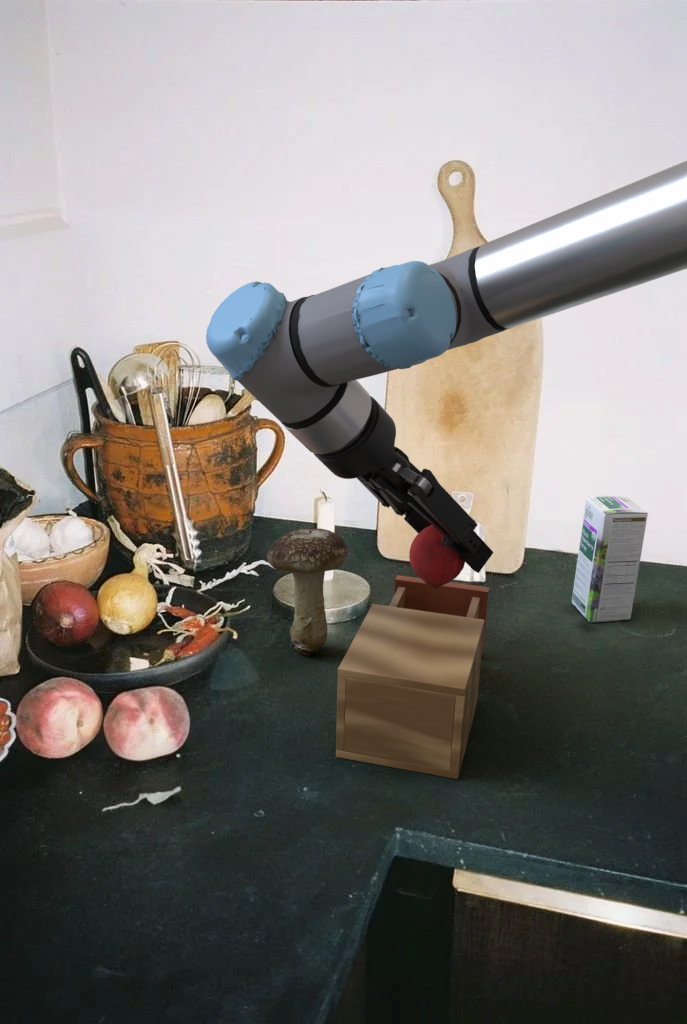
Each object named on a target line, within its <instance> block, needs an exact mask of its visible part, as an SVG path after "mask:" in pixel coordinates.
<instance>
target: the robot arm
mask: <svg viewBox="0 0 687 1024" xmlns="http://www.w3.org/2000/svg"><path fill="white" fill-rule="evenodd" d="M684 270H687V160H685V161H682V162H680V163H677V164H675V165H672V166H670V167H668V168H666V169H663V170H660V171H657V172H656V173H653V174H650V175H648V176H646V177H643V178H640V179H639V180H636V181H634V182H631V183H629V184H626V185H624V186H621V187H618V188H617V189H614V190H611V191H609V192H606V193H604V194H601V195H600V196H597V197H595V198H591V199H590V200H587V201H585V202H583V203H580V204H578V205H576V206H573V207H571V208H568V209H566V210H563V211H561V212H558V213H556V214H554V215H551V216H549V217H546V218H544V219H542V220H541V219H540V220H539V221H537V222H534V223H532V224H529V225H527V226H524V227H522V228H519V229H518V230H514V231H512V232H510V233H507V234H504V235H503V236H500V237H497V238H495V239H493V240H489V241H488V242H485V243H482V244H481V245H479V246H476V247H473V248H469V249H467V250H465V251H462V252H460V253H458V254H456V255H453V256H450V257H447V258H445V259H443V260H439V261H437V262H434V263H430V264H427V262H424V261H420V260H411V261H407V262H403V263H401V264H395V265H391V266H388V267H380V268H379V269H375V270H374V271H371V273H370V274H367V275H364V276H362V277H361V276H360V277H359V278H356V279H353V280H351V281H348V282H345V283H343V284H340V285H338V286H335V287H333V288H329V289H327V290H324V291H321V292H319V293H316V294H311V295H308V296H302V297H300V298H297V299H293V300H292V301H289V300H288V299H287V297H286V295H285V293H284V292H281V291H279V290H278V289H277V288H276V287H275V286H274V285H273V284H271V283H269V282H261V281H252V282H249V283H246V284H244V285H242V286H240V287H238V288H236V289H235V290H234V291H232V292H231V293H230V294H229V295H228V296H227V297H226V298H225V299H223V301H222V302H221V303H220V304H219V305H218V306H217V308H216V309H215V311H214V312H213V314H212V316H211V318H210V321H209V324H208V325H207V328H206V333H205V341H206V342H205V343H206V346H207V348H208V350H209V352H211V354H212V355H213V356H214V357H215V359H216V360H217V361H218V362H219V363H220V364H221V365H222V367H223V368H224V369H225V370H226V371H227V372H228V374H230V377H231V379H233V381H237V382H238V383H239V384H240V385H241V386H242V387H243V388H244V389H245V390H247V392H248V393H250V394H251V395H252V397H254V399H256V400H257V401H258V402H259V403H260V404H261V405H262V406H263V407H264V408H265V409H266V410H267V411H269V413H271V415H273V416H274V417H275V418H276V419H277V420H278V421H279V422H280V424H281V425H282V426H283V427H284V428H285V430H287V431H288V432H289V434H291V435H292V436H293V437H294V438H295V439H296V440H297V441H298V442H300V444H302V445H303V446H304V447H305V449H306V450H308V451H309V453H313V455H314V456H315V457H316V458H317V459H318V460H319V461H320V462H321V463H322V465H324V466H325V467H326V469H328V470H329V471H330V473H332V474H333V475H335V476H336V477H338V478H341V479H345V480H353V479H357V480H358V481H359V483H361V484H362V486H364V488H366V490H367V491H369V492H370V494H372V496H373V497H374V498H376V500H377V501H378V502H380V504H381V506H382V507H384V508H385V507H386V508H387V509H389V508H390V507H391V509H392V510H393V512H394V513H395V514H396V515H397V516H400V517H403V516H404V518H403V520H404V521H405V522H406V523H407V524H408V525H409V526H410V527H411V528H412V529H413V530H414V531H415V532H416V533H417V535H418V534H419V533H420V532H421V531H422V530H423V529H424V528H426V527H428V526H430V525H433V526H434V527H435V528H436V529H437V530H438V531H439V532H440V533H442V534H443V535H444V536H445V537H444V538H443V539H444V541H443V542H442V544H443V545H444V546H446V547H447V548H450V547H451V548H452V549H453V550H454V551H455V552H456V553H457V554H458V555H459V556H460V557H461V558H462V559H463V560H464V561H465V563H466V564H467V565H468V567H470V568H471V570H473V572H476V573H477V574H480V572H481V571H482V569H483V568H484V567H485V565H487V564H486V563H488V561H489V560H490V558H491V557H492V556H493V554H494V551H493V550H492V549H491V547H489V545H487V543H486V542H485V541H484V540H483V539H482V538H481V537H480V536H479V535H478V534H477V532H476V531H475V530H476V528H477V527H478V523H477V522H476V520H475V519H473V517H471V516H470V514H468V513H467V512H468V511H466V510H465V509H464V508H463V507H462V506H461V505H460V504H459V503H458V501H457V500H455V498H454V497H453V496H452V495H451V494H450V493H449V492H448V491H447V490H446V489H445V488H444V486H443V485H442V484H440V482H439V481H438V479H437V477H436V476H435V474H434V473H433V471H431V470H430V469H428V468H423V469H422V470H420V469H419V468H418V467H417V466H415V465H414V464H413V463H412V462H411V461H410V458H409V456H408V455H407V454H406V453H405V452H404V451H403V450H402V449H400V448H399V447H397V446H395V445H396V443H395V442H396V437H397V427H396V423H395V421H394V419H393V418H392V417H391V415H390V414H389V413H388V412H387V411H386V410H385V409H384V407H382V406H381V404H380V403H379V402H378V401H377V400H376V399H375V398H374V397H373V396H372V395H370V393H369V392H368V390H366V389H365V387H364V385H363V384H361V382H359V380H361V379H365V378H369V377H374V376H377V375H381V374H384V373H388V372H391V371H392V372H393V371H395V370H405V369H410V368H412V367H413V366H418V365H420V364H423V363H425V362H427V361H429V360H432V359H435V358H438V357H440V356H442V355H443V354H444V353H446V352H447V351H450V350H453V349H455V348H460V347H463V346H467V345H469V344H474V343H476V342H479V341H481V340H483V339H484V338H488V337H491V336H494V335H496V334H500V333H502V332H505V331H507V330H509V329H513V328H516V327H519V326H521V325H525V324H528V323H530V322H534V321H536V320H540V319H541V318H545V317H548V316H550V315H551V316H552V315H554V314H556V313H560V312H563V311H567V310H569V309H571V308H574V307H578V306H581V305H584V304H587V303H589V302H592V301H596V300H599V299H601V298H604V297H607V296H610V295H614V294H616V293H619V292H622V291H626V290H628V289H631V288H633V287H636V286H639V285H643V284H646V283H649V282H651V281H654V280H657V279H661V278H663V277H667V276H670V275H672V274H675V273H678V272H681V271H684Z"/></svg>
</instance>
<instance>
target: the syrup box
mask: <svg viewBox="0 0 687 1024" xmlns="http://www.w3.org/2000/svg"><path fill="white" fill-rule="evenodd" d="M648 515H649V513H648V511H646V510H644V509H642V508H641V507H640V506H639V505H637V504H636V503H635V502H633V501H632V500H631V499H630V498H628V497H627V496H620V495H619V496H618V495H603V496H602V495H600V496H599V495H598V496H590V497H586V499H585V506H584V512H583V518H582V525H581V532H580V539H579V541H580V542H579V545H578V546H579V547H578V554H577V559H576V560H577V561H576V567H575V576H574V582H573V589H572V596H571V604H572V605H573V606H574V607H575V608H576V609H577V610H578V612H580V614H581V615H582V616H583V617H584V618H585V619H586V620H587V622H588V623H600V622H601V623H603V622H604V623H605V622H615V621H627V620H631V618H632V613H633V606H634V601H635V594H636V589H637V583H638V576H639V569H640V563H641V558H642V552H643V546H644V541H645V540H644V539H645V534H646V527H647V522H648V521H647V520H648Z"/></svg>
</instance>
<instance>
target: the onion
mask: <svg viewBox="0 0 687 1024" xmlns="http://www.w3.org/2000/svg"><path fill="white" fill-rule="evenodd" d="M444 537H445V536H444V535H443V534H442V533H440V532H439V531H438V530H437V529H436V528H435V527H434V526H433V525H430V526H428V527H426V528H424V529H423V530H422V531H421V532H420V533H419V534H418V533H417V534H416V535H415V537H414V538H413V540H412V542H411V544H410V548H409V555H408V557H409V558H408V559H409V564H410V566H411V569H412V570H413V572H414V573H415V574H416V576H417V577H418V578H421V579H422V580H423V581H424V582H425V583H427V584H428V586H430V587H432V588H438V587H440V586H442V585H445V584H447V583H449V582H452V581H454V580H455V579H456V578H457V577H458V576H459V575H460V574H461V572H462V571H463V569H464V568H465V563H466V562H465V561H464V560H463V559H462V558H461V557H460V556H459V555H458V554H457V553H456V552H455V551H454V550H453V549H452V548H451V547H450V548H447V547H446V546H444V545H443V544H442V542H443V541H444V539H443V538H444Z"/></svg>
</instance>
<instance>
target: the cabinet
mask: <svg viewBox="0 0 687 1024" xmlns="http://www.w3.org/2000/svg"><path fill="white" fill-rule="evenodd" d="M484 621H485V620H483V619H476V618H469V617H462V616H455V615H448V614H441V613H434V612H427V611H419V610H412V609H405V608H398V607H391V606H389V605H383V604H376V603H372V604H371V606H370V608H369V610H368V612H367V613H366V615H365V617H364V619H363V621H362V623H361V625H360V627H359V629H358V631H357V632H356V634H355V636H354V638H353V640H352V642H351V644H350V645H349V647H348V649H347V651H346V653H345V655H344V657H343V658H342V661H341V662H340V664H339V666H338V668H337V689H336V690H337V691H336V693H337V695H336V737H335V757H336V758H340V759H344V760H350V761H355V762H361V763H366V764H371V765H377V766H383V767H388V768H393V769H400V770H404V771H409V772H416V773H421V774H425V775H426V774H427V775H432V776H437V777H442V778H447V779H454V780H458V779H459V777H460V773H461V769H462V765H463V762H464V757H465V754H466V749H467V744H468V741H469V737H470V733H471V729H472V725H473V721H474V717H475V713H476V709H477V704H478V700H479V689H480V687H479V686H480V680H481V679H480V676H481V664H482V655H483V654H482V644H483V633H484Z"/></svg>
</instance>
